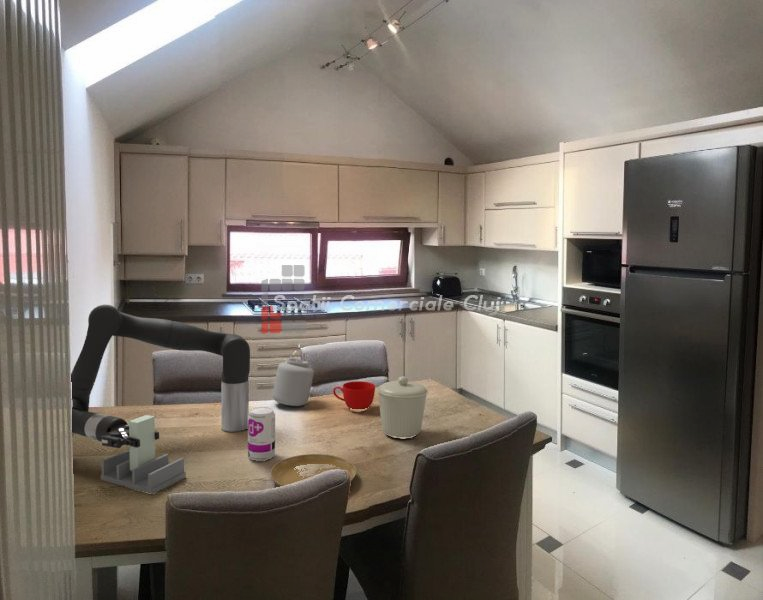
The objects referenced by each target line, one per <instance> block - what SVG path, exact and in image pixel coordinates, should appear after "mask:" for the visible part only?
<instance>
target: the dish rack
mask: <svg viewBox="0 0 763 600" xmlns="http://www.w3.org/2000/svg"><path fill="white" fill-rule="evenodd" d="M169 456H170V454H169V453H165V454H163V455H161V456H159V457H157V458H156V457H155V459H154V460H152V461H150V462H148V463H145V464H143V465H141V466H139V467H137V468H135V469H132V470H130V449H128V450H125V451H123V452H119V453H117V454H115V455H113V456H110V457H107V458H106V459H104V460H101V474H100V481H103V480H105V481H104V482H107V481H108V483H110V482H111V483H110V484H113V483H114V484H115V485H117V484H118V485H117V486H120V485H121V487H123V486H125V487H124V488H127V487H129V488H128V489H130V488H132V489H131V490H133V489H136V490H135V491H137V490H140V491H144V492H148V493H151V494H153V493H155V492H157V491H159V490H161V489H162V490H164V489H166V488H168V487H170V486H172V485H174V484H175V482H176V483H177V482H179V481H181V480H183V479H185V478H186V471H185V458H184V457H180V458H178V459H177V460H174V461H173V462H170V461H169V460H170V457H169ZM173 483H174V484H173ZM171 484H172V485H171ZM169 485H170V486H169ZM167 486H168V487H167ZM165 487H166V488H165ZM163 488H164V489H163ZM162 490H161V491H162ZM140 491H139V492H140ZM159 492H160V491H159ZM157 493H158V492H157ZM155 494H156V493H155ZM153 495H154V494H153Z"/></svg>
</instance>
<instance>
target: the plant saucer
mask: <svg viewBox="0 0 763 600" xmlns="http://www.w3.org/2000/svg"><path fill="white" fill-rule="evenodd" d="M307 464H329V465H331V464H332V465H333V466H334V465H335V466H336V467H340V469H345V470H348V471H349V472H350V475H351V482H353V480H354V478H355V476H356V474H357V468H356V466H355V465H354V464H353V463H352V462H351V461H349V460H347V459H345V458H342V457H339V456H336V455H330V454H321V453H308V454H300V455H294V456H290V457H287V458H285V459H282V460H280V461H277V463H275V464H274V465H273V467H271V469H270V477H271V479H272V481H273V482H274V484H275V485H276V486H277V487H278V488H280V486H284V485H287V484H291V483H294V482H297V481H300V480H303V479H306V478H308V477H311V476H313V475H311V476H308V477H307V476H304V478H303V476H299V475H300V474H299V473H300V472H301V471H302V469H301V471H300V472H298V471H299V470H298V469H296V468H295V467H296V466H300V465H307ZM294 468H295V469H296V470H294ZM304 469H306V468H304ZM330 469H335V468H329V469H325V468H323V469H321V470H320V468H319V469H317V470H316V472H315V474H317V473H320V472H323V471H325V470H330ZM306 470H308V469H306ZM306 470H305V471H306ZM303 471H304V470H303ZM303 471H302V472H303ZM317 471H318V472H317ZM319 471H320V472H319ZM297 472H298V473H297ZM312 474H313V473H312ZM315 474H314V475H315ZM305 475H306V474H305ZM302 478H303V479H302Z"/></svg>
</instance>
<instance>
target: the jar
mask: <svg viewBox="0 0 763 600" xmlns="http://www.w3.org/2000/svg"><path fill="white" fill-rule="evenodd" d="M298 348H300V343H299V344H298ZM301 352H303V351H302V349H301ZM295 353H297V351H296V350H295V351H294V352H293V354H292V355H293V356H294V355H295ZM284 360H286V361H283V362H281V363H279V364H278V366H277V368H276V369H277V370H276V374H275V379H274V385H273V389H272V394H271V395H272V396H271V398H272V399H273V400H274V401H275V402H277V403H279V404H282V405H285V406H291V407H303V406H305V405H307V404H308V401H309V399H310V396H311V395H310V394H311V388H312V385H313V379H314V375H315V374H314V373H315V372H314V371H315V370H314V369H313V368H312V367H310V366H309V364H310V362H308V361H306V360H303V359H299V358H298V359H296V358H291V357H288V358H286V359H285V358H284ZM314 392H316V391H315V390H314ZM312 394H313V392H312ZM311 397H312V396H311ZM302 405H303V406H302Z"/></svg>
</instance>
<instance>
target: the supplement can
mask: <svg viewBox="0 0 763 600" xmlns="http://www.w3.org/2000/svg"><path fill="white" fill-rule="evenodd" d="M275 455H276V413H275V412H274V409H273V408H271V407H267V406H260V407H259V406H258V407H253V408H252V409H249V415H248V430H247V457H248V458H249V459H250V460H251V459H252V460H251V461H253V460H256V461H255V462H257V461H263V462H265V461H264V460H268V459H270V460H271V458H272V457H273V458H274V457H275ZM273 458H272V459H273ZM268 461H269V460H268Z"/></svg>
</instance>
